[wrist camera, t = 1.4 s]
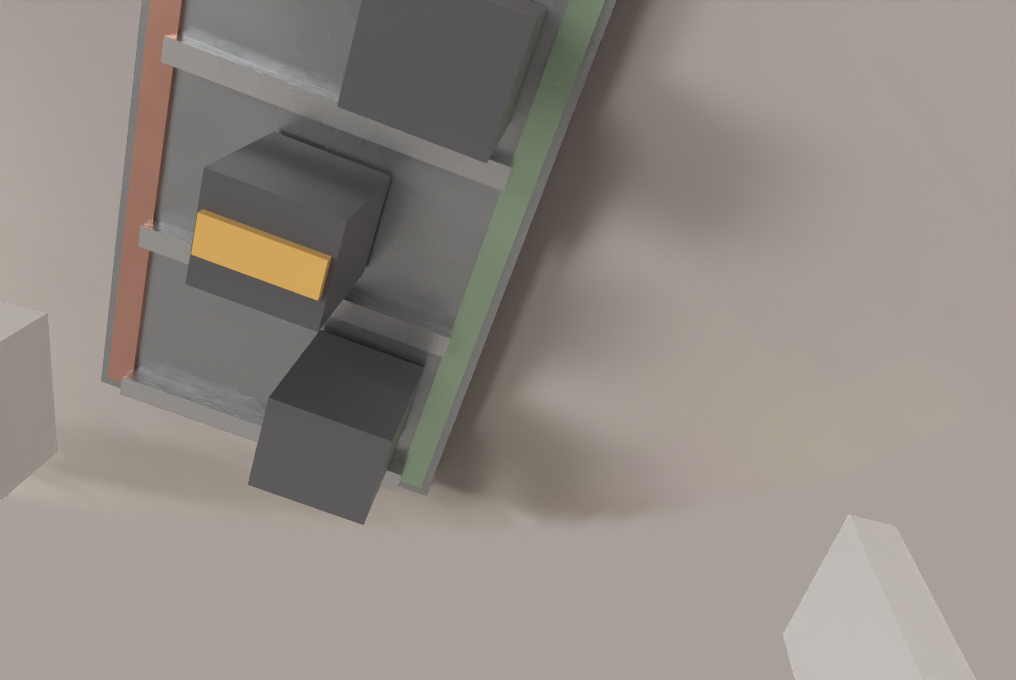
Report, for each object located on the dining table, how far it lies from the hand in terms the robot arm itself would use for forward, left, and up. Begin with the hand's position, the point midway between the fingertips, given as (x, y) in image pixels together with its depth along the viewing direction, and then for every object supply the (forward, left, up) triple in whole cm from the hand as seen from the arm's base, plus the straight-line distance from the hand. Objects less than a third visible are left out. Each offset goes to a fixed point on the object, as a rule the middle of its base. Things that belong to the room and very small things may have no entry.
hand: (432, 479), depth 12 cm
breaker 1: (-8, -4, -20) cm, 22 cm away
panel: (-8, -4, -22) cm, 24 cm away
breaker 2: (-4, -12, -20) cm, 24 cm away
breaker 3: (-4, +4, -20) cm, 21 cm away
